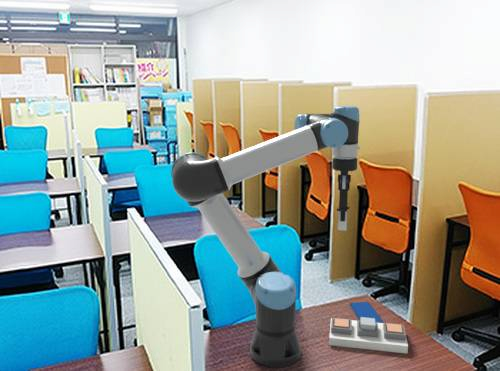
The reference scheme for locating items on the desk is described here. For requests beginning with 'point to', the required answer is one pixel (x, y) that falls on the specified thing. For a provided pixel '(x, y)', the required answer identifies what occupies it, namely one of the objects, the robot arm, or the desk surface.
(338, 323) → the left key
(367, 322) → the middle key
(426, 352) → the desk surface
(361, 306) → the smartphone
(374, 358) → the desk surface
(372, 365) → the desk surface
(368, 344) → the white button panel
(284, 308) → the robot arm
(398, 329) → the right key
